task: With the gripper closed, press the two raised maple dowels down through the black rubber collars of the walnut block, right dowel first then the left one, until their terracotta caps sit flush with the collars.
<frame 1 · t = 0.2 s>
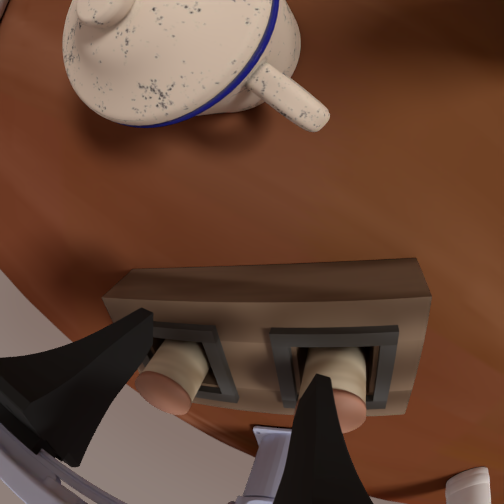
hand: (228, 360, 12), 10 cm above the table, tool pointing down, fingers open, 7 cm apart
walnut block: (268, 326, 24), on the table
bottle: (467, 475, 29), on the table
teacup with lid: (248, 59, 16), on the table
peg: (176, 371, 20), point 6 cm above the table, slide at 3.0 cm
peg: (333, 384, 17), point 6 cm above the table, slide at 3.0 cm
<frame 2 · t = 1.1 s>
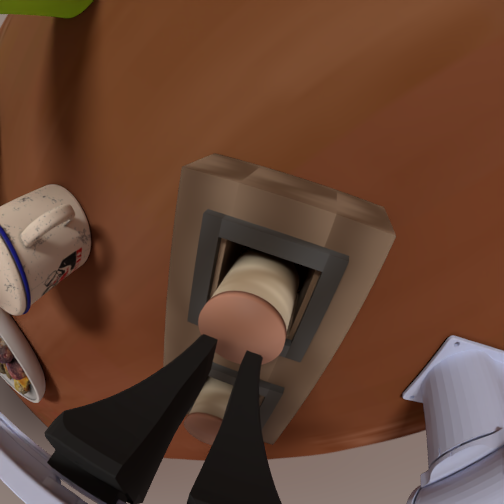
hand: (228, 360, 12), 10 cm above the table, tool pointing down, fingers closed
walnut block: (257, 314, 23), on the table
teacup with lid: (70, 219, 25), on the table
bowl: (4, 332, 45), on the table
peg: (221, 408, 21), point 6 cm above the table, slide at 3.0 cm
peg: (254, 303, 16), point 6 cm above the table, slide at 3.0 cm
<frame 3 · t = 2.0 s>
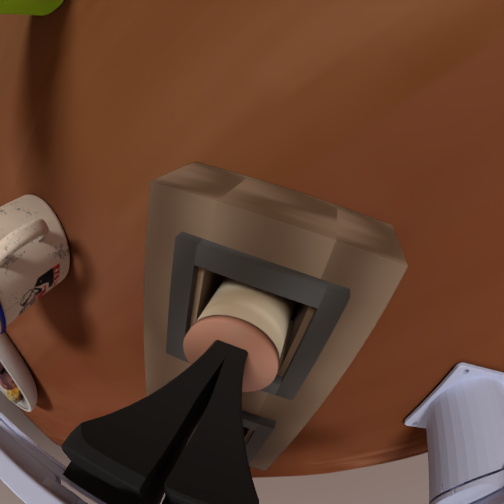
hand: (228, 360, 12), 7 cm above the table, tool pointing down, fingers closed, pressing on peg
walnut block: (246, 340, 21), on the table
teacup with lid: (49, 231, 22), on the table
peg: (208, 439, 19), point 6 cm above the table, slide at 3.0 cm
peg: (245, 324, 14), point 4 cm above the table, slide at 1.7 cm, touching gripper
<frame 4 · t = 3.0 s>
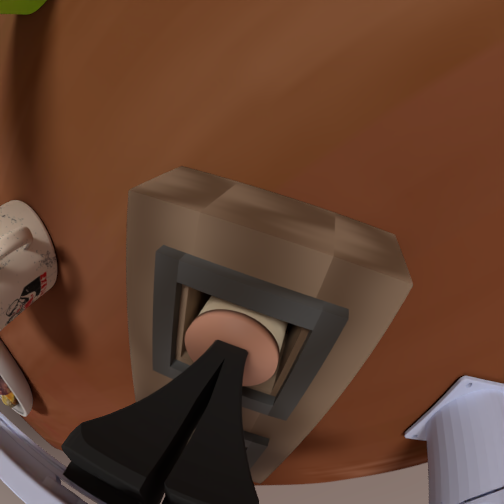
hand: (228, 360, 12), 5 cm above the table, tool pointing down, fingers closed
walnut block: (239, 353, 20), on the table
teacup with lid: (36, 238, 21), on the table
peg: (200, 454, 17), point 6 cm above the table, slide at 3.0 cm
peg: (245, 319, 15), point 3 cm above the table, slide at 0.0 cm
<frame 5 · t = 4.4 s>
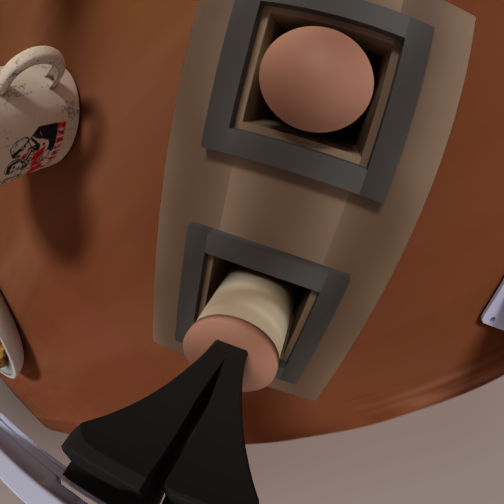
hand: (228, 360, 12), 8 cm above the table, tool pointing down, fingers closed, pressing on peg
walnut block: (295, 184, 16), on the table
teacup with lid: (59, 102, 18), on the table
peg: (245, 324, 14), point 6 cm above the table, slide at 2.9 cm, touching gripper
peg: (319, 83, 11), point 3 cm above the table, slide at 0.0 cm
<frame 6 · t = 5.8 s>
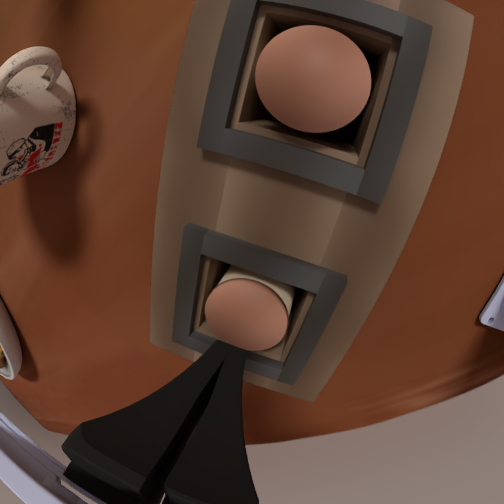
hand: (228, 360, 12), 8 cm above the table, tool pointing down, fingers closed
walnut block: (292, 184, 16), on the table
teacup with lid: (55, 103, 18), on the table
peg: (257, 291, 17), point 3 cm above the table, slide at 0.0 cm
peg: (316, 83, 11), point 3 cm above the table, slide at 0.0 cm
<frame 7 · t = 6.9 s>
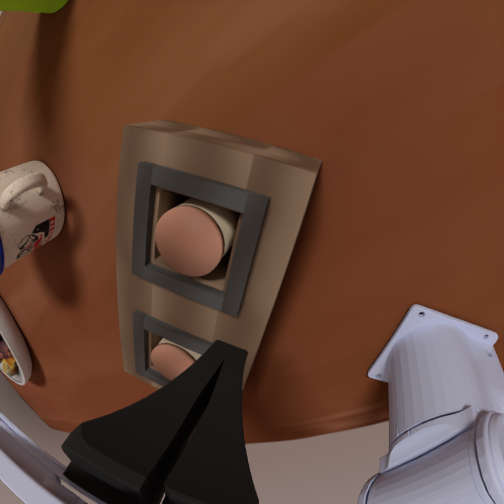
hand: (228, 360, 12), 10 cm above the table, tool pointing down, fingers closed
walnut block: (208, 277, 24), on the table
teacup with lid: (48, 192, 26), on the table
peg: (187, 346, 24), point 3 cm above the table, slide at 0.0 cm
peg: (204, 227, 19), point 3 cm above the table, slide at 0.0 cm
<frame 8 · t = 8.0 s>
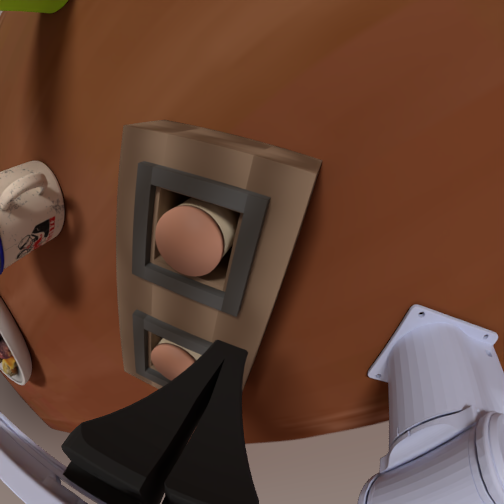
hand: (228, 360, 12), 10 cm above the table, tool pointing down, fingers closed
walnut block: (208, 277, 24), on the table
teacup with lid: (48, 192, 26), on the table
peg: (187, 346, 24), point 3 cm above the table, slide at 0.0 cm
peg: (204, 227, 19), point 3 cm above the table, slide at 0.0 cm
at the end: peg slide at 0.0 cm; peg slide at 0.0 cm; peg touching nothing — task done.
